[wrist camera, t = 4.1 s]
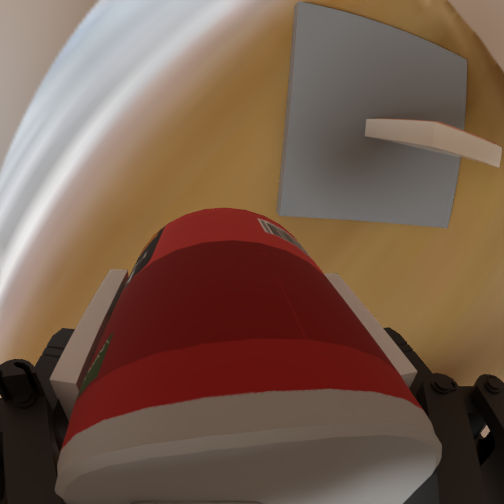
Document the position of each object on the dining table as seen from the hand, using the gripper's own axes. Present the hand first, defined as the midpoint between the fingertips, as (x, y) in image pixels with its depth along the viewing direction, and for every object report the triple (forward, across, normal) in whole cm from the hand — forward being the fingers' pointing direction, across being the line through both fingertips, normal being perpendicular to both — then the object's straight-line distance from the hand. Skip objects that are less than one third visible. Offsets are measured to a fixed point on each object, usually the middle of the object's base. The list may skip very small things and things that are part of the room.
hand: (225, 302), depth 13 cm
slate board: (+14, -14, -10) cm, 22 cm away
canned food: (+2, 0, 0) cm, 2 cm away
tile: (+13, -15, -8) cm, 21 cm away
